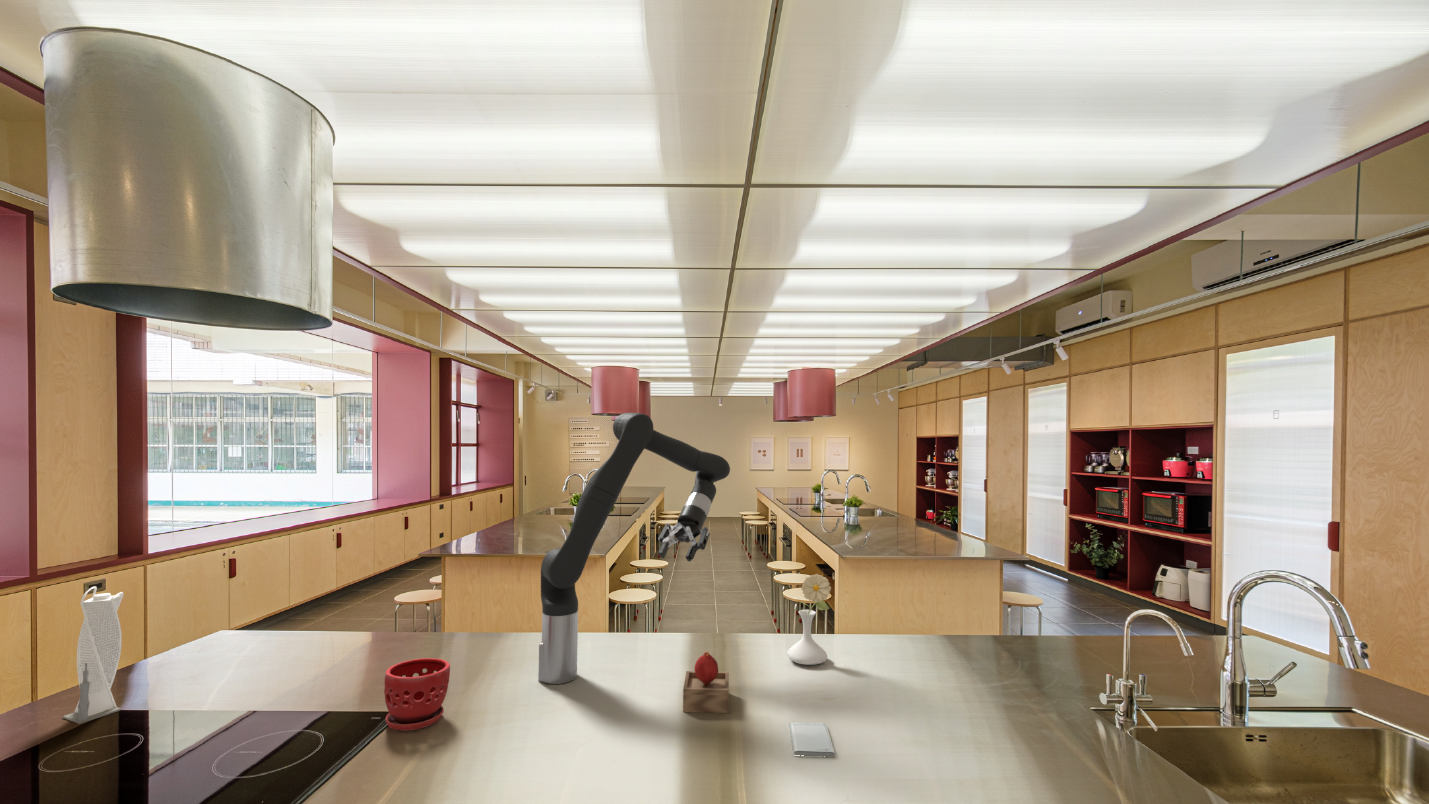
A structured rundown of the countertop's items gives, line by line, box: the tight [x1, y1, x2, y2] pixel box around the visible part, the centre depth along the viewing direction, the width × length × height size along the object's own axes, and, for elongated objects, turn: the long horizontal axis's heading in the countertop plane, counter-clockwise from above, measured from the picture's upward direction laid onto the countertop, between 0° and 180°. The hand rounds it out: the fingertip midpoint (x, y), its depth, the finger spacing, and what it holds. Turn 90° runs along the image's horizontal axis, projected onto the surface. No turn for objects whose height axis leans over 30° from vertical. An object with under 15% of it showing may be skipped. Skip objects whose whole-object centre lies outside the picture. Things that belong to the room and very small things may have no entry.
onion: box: [693, 651, 719, 685], centre depth 145 cm, size 6×6×8 cm
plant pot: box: [383, 657, 451, 732], centre depth 135 cm, size 13×13×12 cm
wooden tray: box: [682, 670, 730, 714], centre depth 145 cm, size 11×11×5 cm
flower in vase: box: [786, 573, 832, 666], centre depth 172 cm, size 13×11×25 cm
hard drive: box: [788, 721, 836, 758], centre depth 127 cm, size 2×8×12 cm
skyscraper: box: [62, 585, 125, 725], centre depth 138 cm, size 8×8×28 cm
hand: (674, 558), depth 166 cm, fingers open, 8 cm apart
